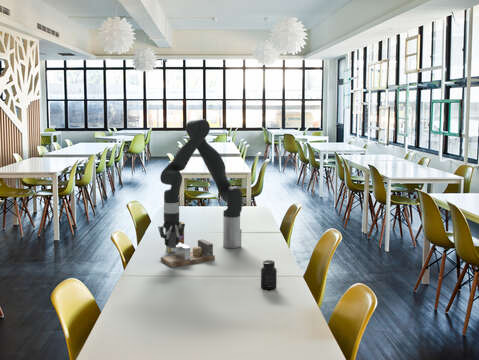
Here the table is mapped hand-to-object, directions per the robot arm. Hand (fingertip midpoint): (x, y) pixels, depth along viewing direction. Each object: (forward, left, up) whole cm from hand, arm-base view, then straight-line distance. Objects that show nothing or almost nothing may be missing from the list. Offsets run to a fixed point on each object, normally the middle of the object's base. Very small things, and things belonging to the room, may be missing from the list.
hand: (171, 245), depth 253 cm
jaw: (-3, 0, -7) cm, 8 cm away
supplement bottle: (-20, +52, -10) cm, 57 cm away
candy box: (-11, -18, -10) cm, 23 cm away
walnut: (-14, 0, -7) cm, 16 cm away
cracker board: (-9, 0, -9) cm, 13 cm away
